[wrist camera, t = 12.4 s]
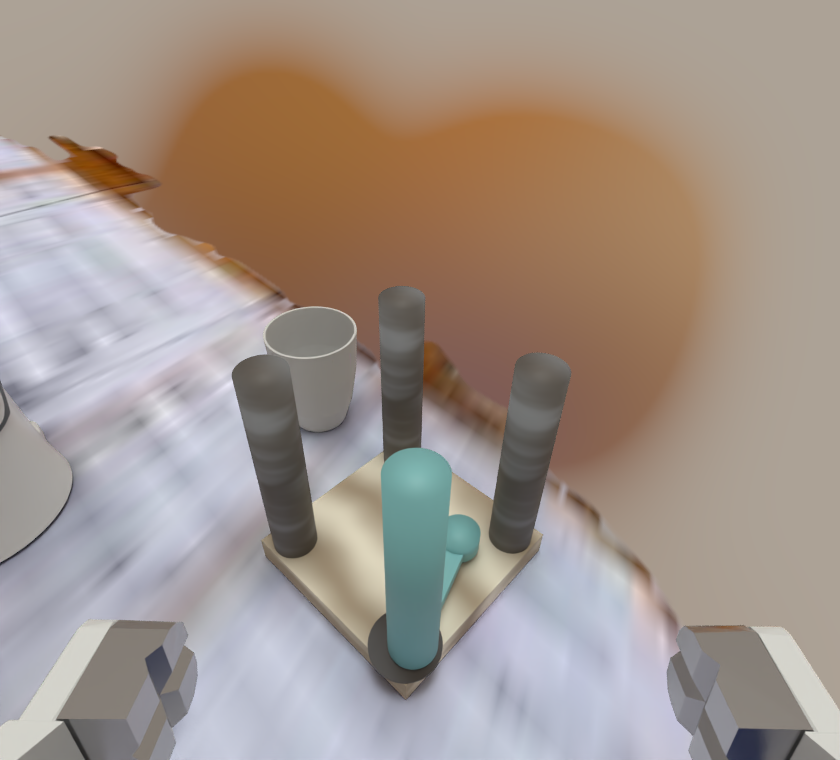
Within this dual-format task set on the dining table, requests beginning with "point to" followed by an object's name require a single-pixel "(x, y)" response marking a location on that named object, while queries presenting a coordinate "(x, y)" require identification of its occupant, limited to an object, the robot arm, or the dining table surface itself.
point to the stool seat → (362, 499)
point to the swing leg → (420, 551)
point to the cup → (316, 362)
